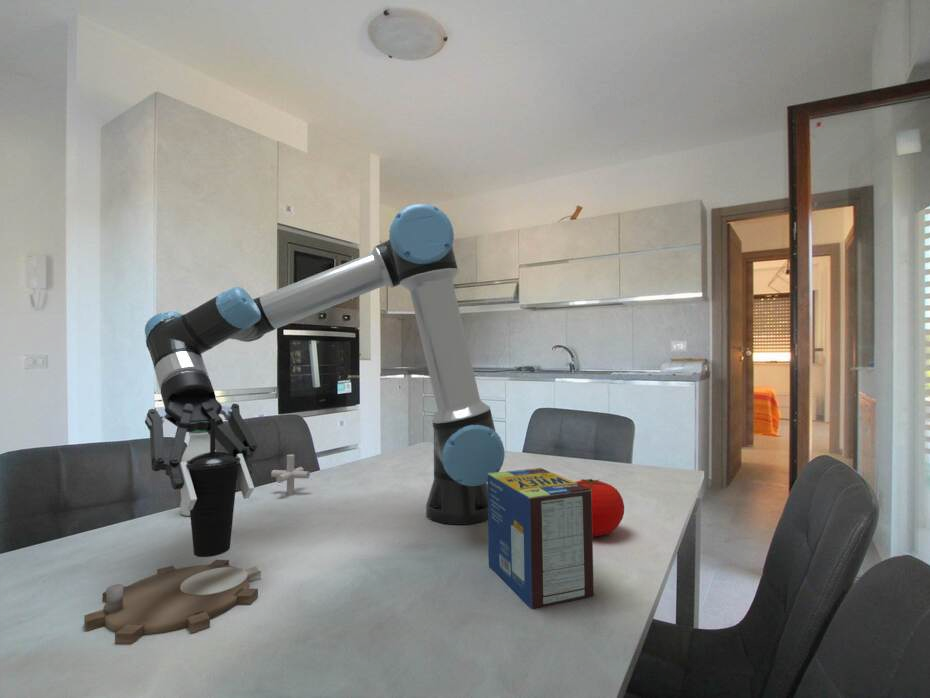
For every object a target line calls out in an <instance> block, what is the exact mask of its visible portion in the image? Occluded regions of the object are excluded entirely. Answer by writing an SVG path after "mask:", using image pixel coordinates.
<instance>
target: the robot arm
mask: <svg viewBox="0 0 930 698" xmlns="http://www.w3.org/2000/svg"><path fill="white" fill-rule="evenodd" d="M388 235H389V237H388V238H389V239H388V240H386V241H384V242H383V243H379V244H378V245H374V247H373V249H372V251H371V252H370V253H368V254H367V253H366V254H365V255H362V256H359V257H357V258H355V259H352V260H349V261H347V262H344V263H342V264H339V265H337V266H334V267H332V268H329V269H326V270H324V271H322V272H319V273H316V274H314V275H311V276H308V277H306V278H304V279H301V280H299V281H297V282H294V283H291V284H287V285H286V286H283V287H281V288H278V289H275V290H273V291H270V292H267V293H265V294H263V295H260V296H258V297H256V298H253V297H252V296H251V295H250V294H249V292H247V291H246V290H245V289H244V288H243V287H240V286H234V287H232V288H230V289H228V290H226V291H222V292H220V293H219V294H217V295H216V296H214V297H213V298H210V299H209V300H207V301H206V302H204V303H202V304H201V305H199V306H197V307H195V308H193V309H192V310H190V311H188V312H186V313H185V314H182V313H180V312H178V311H167V312H163V313H161V312H159V313H156V314H155V315H153V316H152V317H151V318H149V320H147V321H146V324H145V326H144V335H145V344H146V348H147V349H148V352H149V355H150V358H151V361H152V365H153V370H154V371H155V376H156V380H157V383H158V388H159V390H160V395H161V399H162V403H163V405H164V409H162V410H157V409H154V408H150V409H148V410H147V413H146V417H145V421H144V423H145V426H146V427H147V429H148V430H149V439H150V441H149V442H150V443H149V444H150V462H151V463H150V464H151V470H152V471H154V472H160V471H165V475H166V476H168V477H169V480H170V484H171V488H173V490H181V493H182V497H183V501H184V504H185V508H186V511H189V510H192V509H193V507H194V504H195V502H196V500H197V497H196V494H195V490H194V487H193V483H192V480H191V476H190V473H189V469H187V467H186V465H187V462H186V461H185V462H180V460H181V458H182V457H181V456H182V452H183V447H184V445H185V441H186V436H187V433H189V432H192V431H196V430H202V431H203V430H206V431H207V432H208V433H209V435H210V418H215V440H216V441H217V442H218V443H219V444H220V445H221V446H222V447H223V448H224V449H225V450H226V452H227V453H229V454H232V455H234V456H238V457H240V462H239V463H238V471H237V482H238V485H239V488H240V492H241V494H242V497H243V500H246V499H249V498H250V497H251V495H252V493H253V491H254V490H255V486H254V483H253V480H252V478H251V475H252V473H253V471H254V467H253V465H252V462H251V459H250V458H253V457H254V455H255V453H256V451H257V449H258V443H257V441H256V439H255V437H254V436H253V434H252V432H251V431H250V429H249V428H248V426H247V424H246V422H245V420H244V419H243V416H242V415H241V413H240V405H239V404H238V403H232V404H231V406H226V405H224V406H223V405H222V404H221V403H220V402H219V401H218V400H217V398H216V394H215V390H214V388H213V385H212V381H211V379H210V377H209V376H210V375H209V373H208V371H207V368H206V364H205V362H204V359H203V356H202V354H204V353H206V352H207V351H209V350H211V349H213V348H214V347H216V346H219V345H220V344H222V343H223V342H225V341H227V340H237V341H239V342H240V341H241V342H246V343H247V342H248V343H249V342H253V341H257V340H259V339H262V337H264V336H265V335H266V334H268V333H270V332H272V331H275V330H277V329H279V328H281V327H285V326H287V325H290V324H292V323H294V322H295V323H296V321H299V320H302V319H305V318H307V317H309V316H312V315H314V314H317V313H319V312H322V311H325V310H328V309H329V308H333V307H334V306H337V305H339V304H342V303H345V302H347V301H350V300H352V299H355V298H356V297H360V296H362V295H364V294H367V293H370V292H372V291H374V290H377V289H379V288H382V287H389V288H394V287H397V286H402V287H404V288H405V289H407V290H408V291H409V293H410V298H411V301H412V302H411V303H412V306H413V311H414V314H415V315H414V316H415V319H416V324H417V328H418V331H419V332H418V333H419V336H420V341H421V344H422V349H423V353H424V357H425V361H426V366H427V370H428V374H429V379H430V383H431V388H432V392H433V397H434V401H435V405H436V409H437V411H436V412H435V413H434V414H433V418H432V420H431V421H432V427H433V482H432V484H431V487H430V491H429V493H428V494H429V495H428V498H427V500H426V506H425V508H426V509H425V510H426V512H425V515H426V517H427V518H428V519H429V520H431V521H433V522H437V523H441V524H449V525H470V524H477V523H482V522H484V521H488V473H496V472H501V469H502V467H503V464H504V462H505V446H504V442H503V440H502V438H501V437H500V435H499V433H498V432H496V428H495V423H494V420H493V415H492V411H491V406H490V405H488V404H487V403H485V402H484V401H482V400H481V398H480V393H479V388H478V386H477V381H476V376H475V372H474V366H473V364H472V363H473V362H472V358H471V356H470V349H469V346H468V342H467V338H466V333H465V327H464V324H463V320H462V317H461V312H460V308H459V303H458V298H457V295H456V290H455V286H454V279H455V277H456V276H457V274H458V273H459V268H458V265H457V260H456V256H455V251H454V247H453V244H454V239H455V237H454V236H455V234H454V227H453V224H452V222H451V220H450V218H449V217H448V215H447V214H445V212H444V211H443V210H441V209H439V208H438V207H437V206H434V205H432V204H428V203H413V204H410V205H407V206H405V207H403V208H402V209H401V210H400V211H399V212H398V213H396V215H395V217H394V218H393V220H392V222H391V224H390V227H389V234H388ZM221 415H223V417H224V420H225V421H227V422H228V426H229V427H230V428H229V427H228V426H227V425H225V423H224V420H223V418H222V417H221ZM165 419H166V420H167V421H169V422H170V423H172V425H174V426H176V427H177V428H176V432H175V436H174V441H173V444H172V448H171V451H170V455H169V457H167V456H165V455H166V454H165V443H164V441H165V439H164V426H163V424H164V422H165Z"/></svg>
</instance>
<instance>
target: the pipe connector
mask: <svg viewBox="0 0 930 698" xmlns="http://www.w3.org/2000/svg"><path fill="white" fill-rule="evenodd" d="M270 474H271V475H270V476H271V477H272V478H276V479H275V480H276V483H279V484H280V483H283V482H285V481H286V495H287V496H292V494H293V495H295V479H309V478H310V476H311V472H310V471H307V470H306V471H305V469H304V468H303V466H299V467H297V468H295V454H287V455H286V469H285V470H283V469H281V470H279V469H273V470H271V473H270Z"/></svg>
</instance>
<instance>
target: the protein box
mask: <svg viewBox="0 0 930 698" xmlns="http://www.w3.org/2000/svg"><path fill="white" fill-rule="evenodd" d="M575 482H576V481H573V480H570V479H567V478H566V477H563V476H561V475H558V474H556V473H554V472H551V471H549V470H547V469H544V468H541V467H538V468H536V467H535V468H529V469H518V470H507V471H499V472H496V473H488V482H487V484H488V520H487V527H488V528H487V529H488V530H487V536H488V537H487V539H488V543H487V544H488V545H487V547H488V549H487V550H488V552H487V553H488V567H489V568H491V570H492V571H494V573H495V574H496V575H497V576H498V577H500V578H501V580H502V581H503V582H504V583H505V584H506V585H507V586H508V587H509V588H510V589H511V590H512V591H513V592H514V593H515V595H517V596H518V597H519V598H520V599H521V600H522V602H523V603H524V604H526V606H528V607H529V609H536V608H542V607H546V606H547V607H548V606H552V605H555V604H560V603H565V602H570V601H574V600H579V599H584V598H589V597H593V596H594V594H595V592H594V591H595V590H594V589H595V588H594V587H595V586H594V554H593V553H594V551H593V549H594V547H593V546H594V545H593V544H594V543H593V536H592V490H591V489H590V488H588V487H586V486H583V485H580V484H578V483H575Z"/></svg>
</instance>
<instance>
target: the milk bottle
mask: <svg viewBox="0 0 930 698" xmlns="http://www.w3.org/2000/svg"><path fill="white" fill-rule="evenodd" d="M188 435H189V438H188V439H189V440H188V443H187V446H186V448H185V450H184V452H183V454H182V457H181V462H185V461H188V460H190V459H192V458H194V457H196V456H198V455H200V454H204V453H208V452H210V435H209V433H208V432H207V431H206V430H203V431H202V430H196V431H192V432H188ZM215 452H217V450H216V449H215ZM179 490H180V489H179ZM179 494H180V496H179V497H180V498H179V508H180V514H181V515H182V516H186V517H190V510H189V511H186V508H185V504H184V501H183V497H182V493H181V490H180V491H179Z"/></svg>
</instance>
